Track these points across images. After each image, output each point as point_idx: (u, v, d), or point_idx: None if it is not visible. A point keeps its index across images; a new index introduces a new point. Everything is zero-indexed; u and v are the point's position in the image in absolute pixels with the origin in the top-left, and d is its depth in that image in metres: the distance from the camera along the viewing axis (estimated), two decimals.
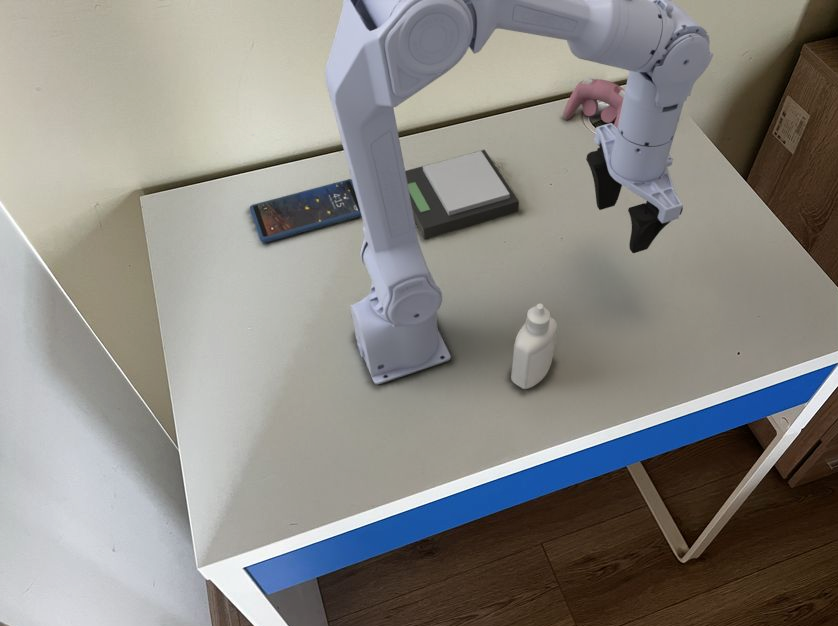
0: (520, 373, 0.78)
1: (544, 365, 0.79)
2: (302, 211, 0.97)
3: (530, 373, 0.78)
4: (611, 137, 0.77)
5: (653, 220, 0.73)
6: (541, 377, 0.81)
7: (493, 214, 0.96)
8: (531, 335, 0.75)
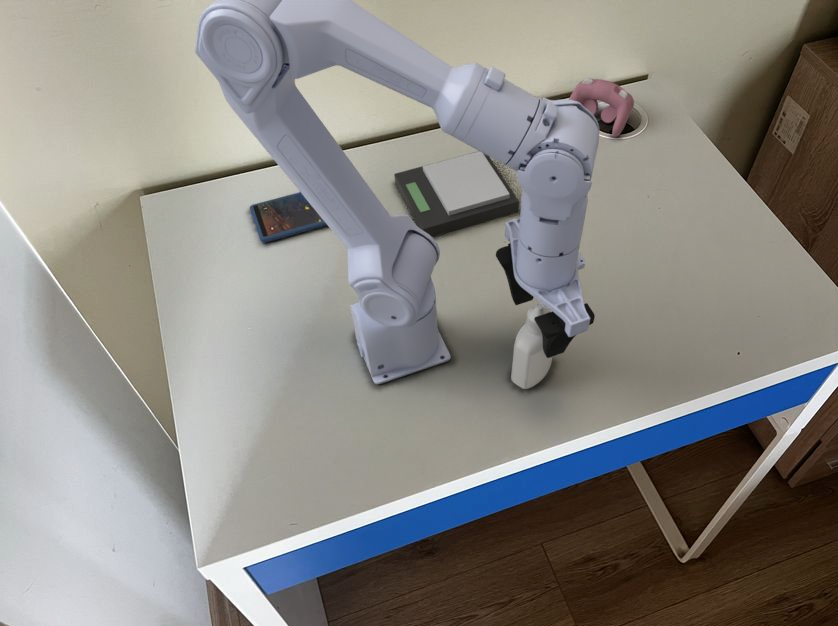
0: (520, 373, 0.78)
1: (544, 365, 0.79)
2: (302, 211, 0.97)
3: (530, 373, 0.78)
4: None
5: (560, 332, 0.66)
6: (541, 377, 0.81)
7: (493, 214, 0.96)
8: (531, 335, 0.75)
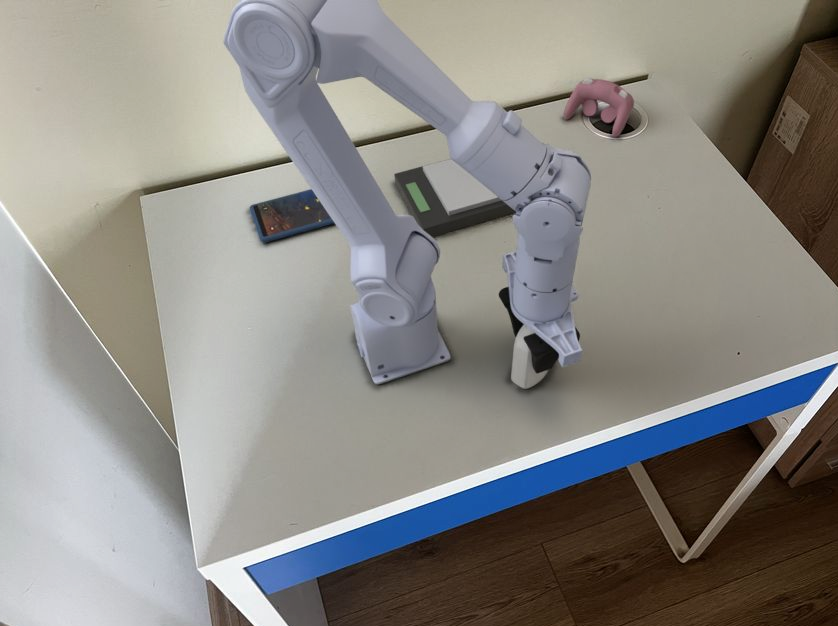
0: (520, 373, 0.78)
1: None
2: (302, 211, 0.97)
3: (530, 373, 0.78)
4: None
5: (548, 351, 0.71)
6: (541, 377, 0.81)
7: (493, 214, 0.96)
8: None
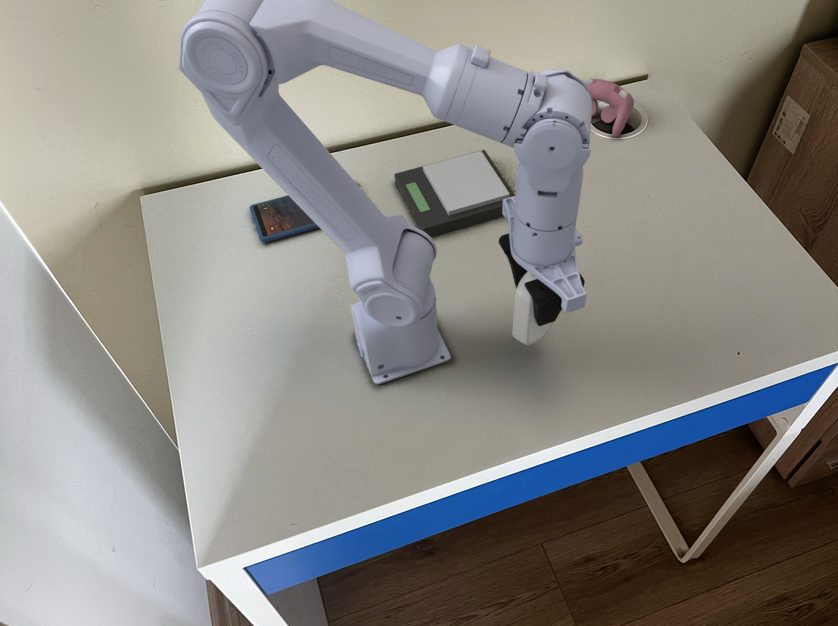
0: (521, 327, 0.74)
1: None
2: (302, 211, 0.97)
3: (532, 326, 0.74)
4: None
5: (550, 297, 0.66)
6: (544, 332, 0.76)
7: (493, 214, 0.96)
8: None
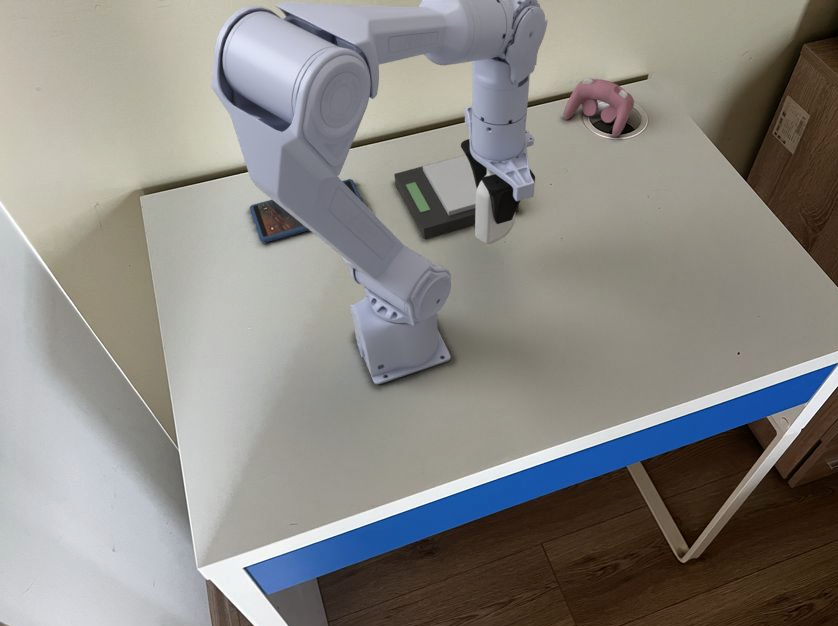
0: (482, 225, 0.83)
1: None
2: None
3: (492, 225, 0.82)
4: None
5: (504, 189, 0.75)
6: (503, 233, 0.85)
7: None
8: None
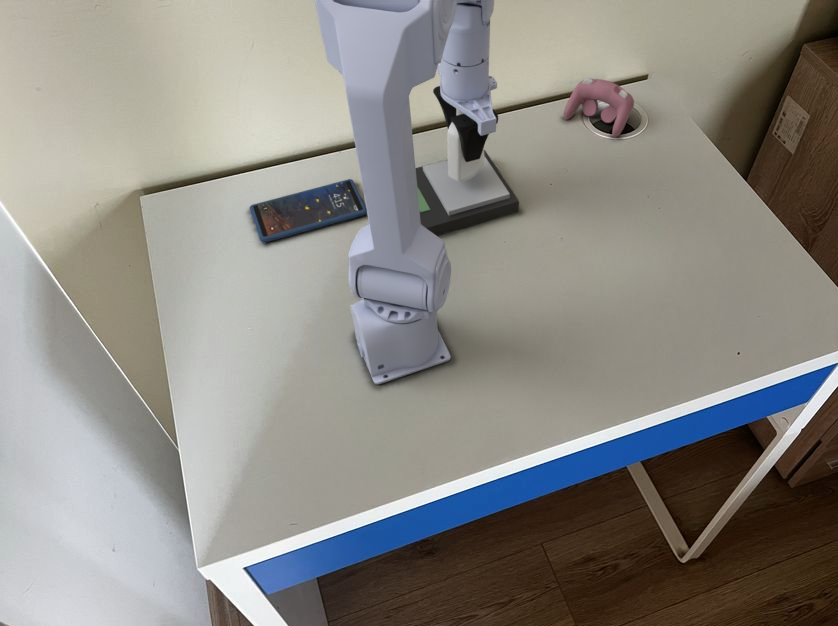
0: (454, 164, 0.93)
1: None
2: (302, 211, 0.97)
3: (462, 163, 0.92)
4: None
5: (470, 126, 0.85)
6: (473, 172, 0.95)
7: (493, 214, 0.96)
8: None
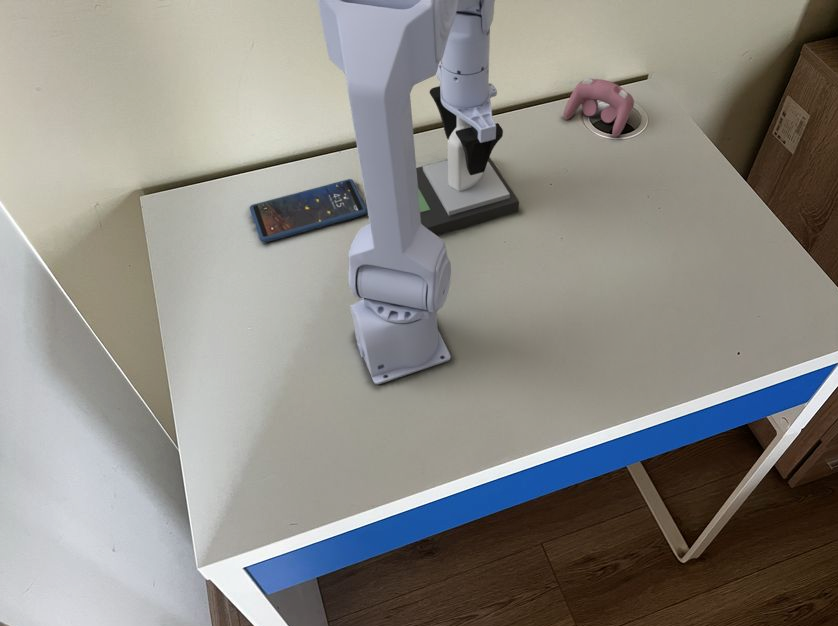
0: (454, 173, 0.94)
1: None
2: (302, 211, 0.97)
3: (462, 172, 0.94)
4: None
5: (475, 141, 0.85)
6: (473, 181, 0.96)
7: (493, 214, 0.96)
8: None
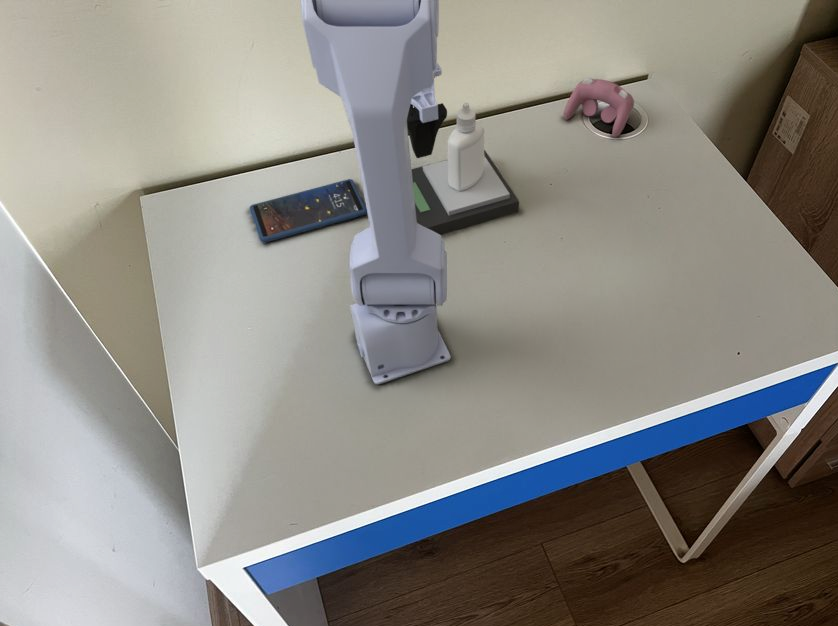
0: (454, 173, 0.94)
1: (475, 167, 0.95)
2: (302, 211, 0.97)
3: (462, 172, 0.94)
4: None
5: (417, 121, 0.82)
6: (473, 181, 0.96)
7: (493, 214, 0.96)
8: (460, 134, 0.90)
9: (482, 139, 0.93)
